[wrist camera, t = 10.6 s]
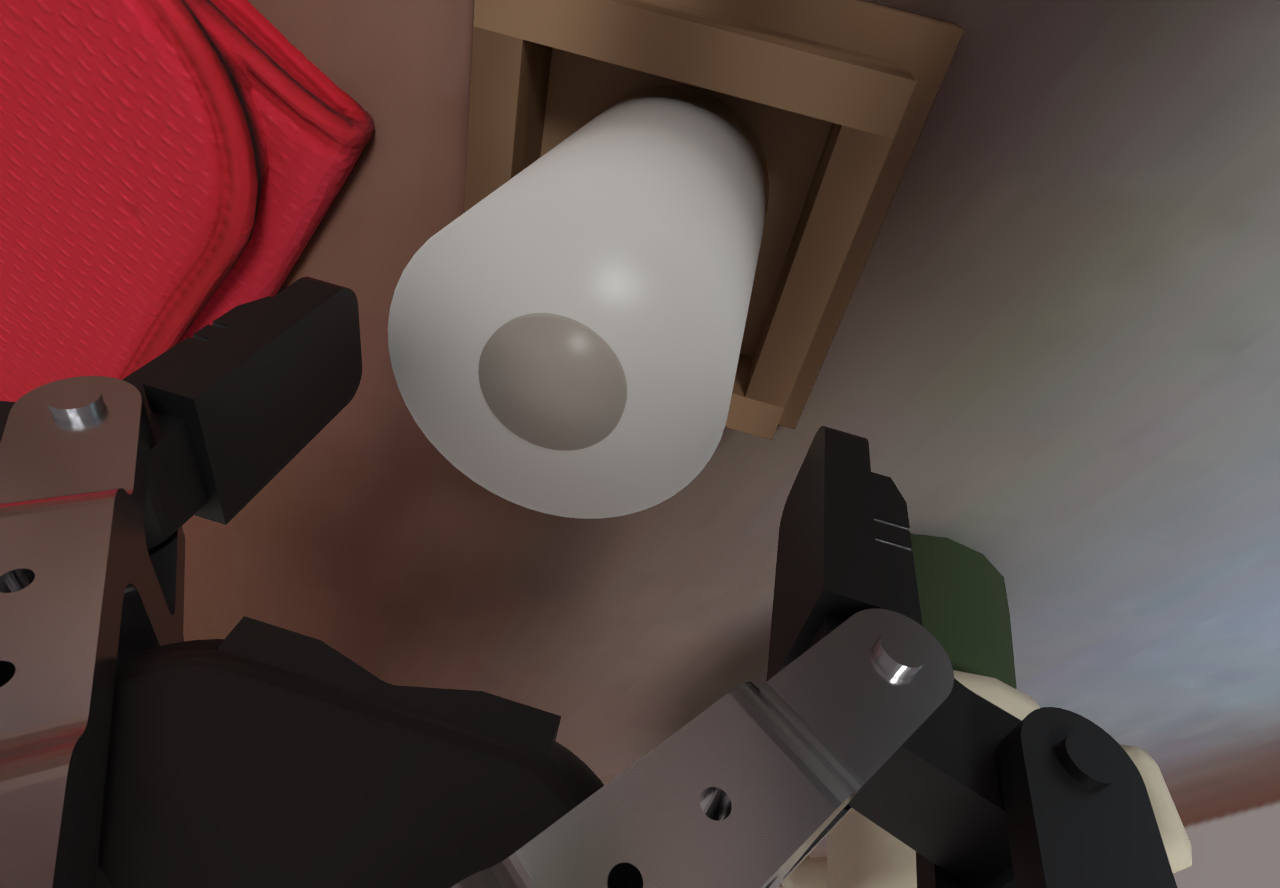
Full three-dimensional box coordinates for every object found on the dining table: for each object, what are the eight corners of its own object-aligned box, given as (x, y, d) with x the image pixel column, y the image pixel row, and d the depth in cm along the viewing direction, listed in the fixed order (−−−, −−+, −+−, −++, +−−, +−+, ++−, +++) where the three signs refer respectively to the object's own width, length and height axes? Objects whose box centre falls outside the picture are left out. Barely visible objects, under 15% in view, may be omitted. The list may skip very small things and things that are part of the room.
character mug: (823, 664, 32) (828, 1013, 21) (751, 557, 29) (715, 901, 19) (1091, 608, 27) (1265, 1026, 17) (1036, 472, 24) (1206, 876, 14)
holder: (957, 25, 17) (985, 41, 14) (795, 413, 24) (793, 474, 22) (494, -96, 18) (434, -103, 15) (469, 320, 25) (426, 368, 22)
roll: (791, 105, 18) (768, 251, 9) (745, 304, 21) (694, 554, 12) (582, 68, 19) (365, 172, 10) (568, 268, 22) (397, 484, 13)
